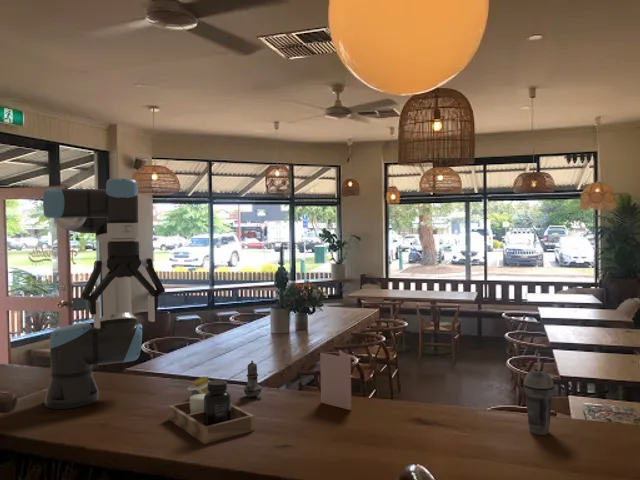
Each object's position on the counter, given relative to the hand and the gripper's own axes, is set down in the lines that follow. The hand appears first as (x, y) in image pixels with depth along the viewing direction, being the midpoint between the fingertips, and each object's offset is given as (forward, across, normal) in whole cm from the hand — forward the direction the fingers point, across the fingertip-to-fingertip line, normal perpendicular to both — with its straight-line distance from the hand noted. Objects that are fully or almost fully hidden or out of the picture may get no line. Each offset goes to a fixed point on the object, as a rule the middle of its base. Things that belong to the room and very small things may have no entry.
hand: (125, 324), depth 138 cm
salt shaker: (+29, +40, +6) cm, 50 cm away
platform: (+29, +28, +16) cm, 44 cm away
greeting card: (+29, +56, -15) cm, 65 cm away
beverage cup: (+29, +82, -64) cm, 108 cm away
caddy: (+28, +19, -8) cm, 35 cm away
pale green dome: (+28, +19, -2) cm, 34 cm away
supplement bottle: (+28, +19, -13) cm, 36 cm away
